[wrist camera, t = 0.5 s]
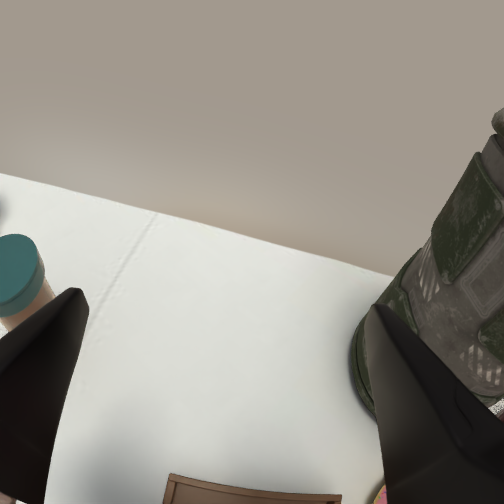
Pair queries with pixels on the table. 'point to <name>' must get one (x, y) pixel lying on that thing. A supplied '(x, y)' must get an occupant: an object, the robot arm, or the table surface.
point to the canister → (457, 282)
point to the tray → (234, 494)
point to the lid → (19, 273)
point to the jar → (29, 307)
